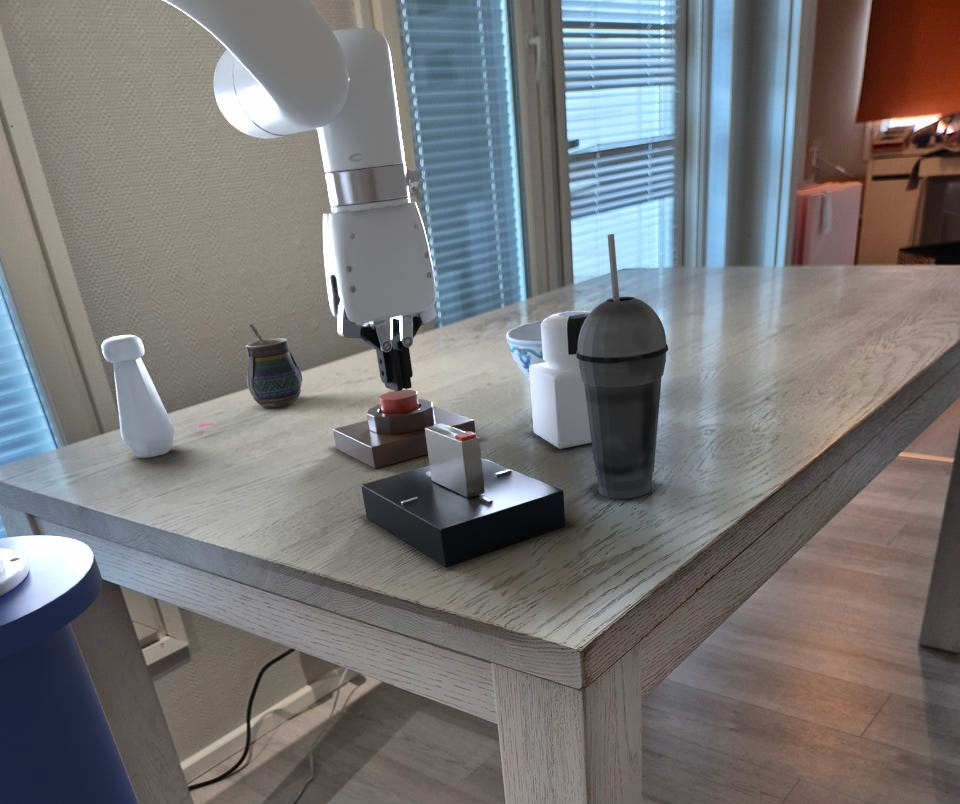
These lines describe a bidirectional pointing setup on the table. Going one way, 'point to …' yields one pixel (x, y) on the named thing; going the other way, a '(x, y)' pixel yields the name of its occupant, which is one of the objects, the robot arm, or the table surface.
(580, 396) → the medicine bottle
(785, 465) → the table surface
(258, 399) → the mate gourd
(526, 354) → the chinaware
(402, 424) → the button box
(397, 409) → the button
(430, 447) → the brushed metal brick
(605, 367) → the beverage cup
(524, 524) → the panel
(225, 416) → the table surface
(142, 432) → the salt shaker
